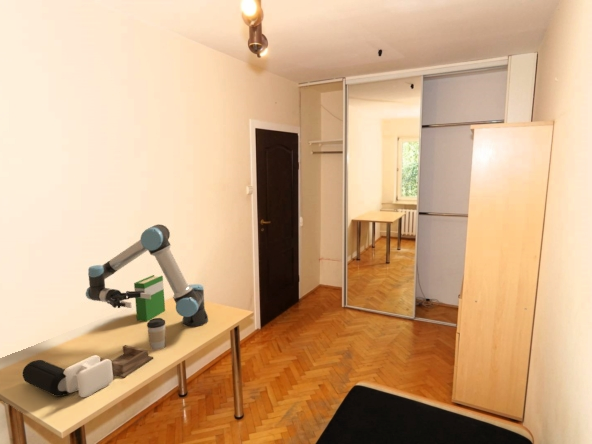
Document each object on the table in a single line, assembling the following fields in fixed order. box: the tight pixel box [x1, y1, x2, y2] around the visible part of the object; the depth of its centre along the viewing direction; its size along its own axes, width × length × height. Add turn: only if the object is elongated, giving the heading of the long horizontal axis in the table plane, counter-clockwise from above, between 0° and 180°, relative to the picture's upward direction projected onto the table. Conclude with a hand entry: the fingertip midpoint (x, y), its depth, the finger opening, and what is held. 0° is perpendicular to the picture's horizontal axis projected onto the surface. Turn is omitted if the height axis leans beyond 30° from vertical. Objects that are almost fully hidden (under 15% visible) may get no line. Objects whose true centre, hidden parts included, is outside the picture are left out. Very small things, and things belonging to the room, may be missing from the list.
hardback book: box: [133, 274, 166, 322], centre depth 233 cm, size 18×7×24 cm, turn 163°
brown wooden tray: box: [100, 344, 154, 379], centre depth 175 cm, size 16×18×5 cm
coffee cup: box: [146, 317, 166, 351], centre depth 192 cm, size 9×9×15 cm
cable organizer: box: [63, 354, 114, 398], centre depth 156 cm, size 15×11×12 cm
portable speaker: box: [22, 359, 70, 397], centre depth 157 cm, size 26×10×10 cm, turn 62°
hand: (141, 300), depth 193 cm, fingers open, 13 cm apart
